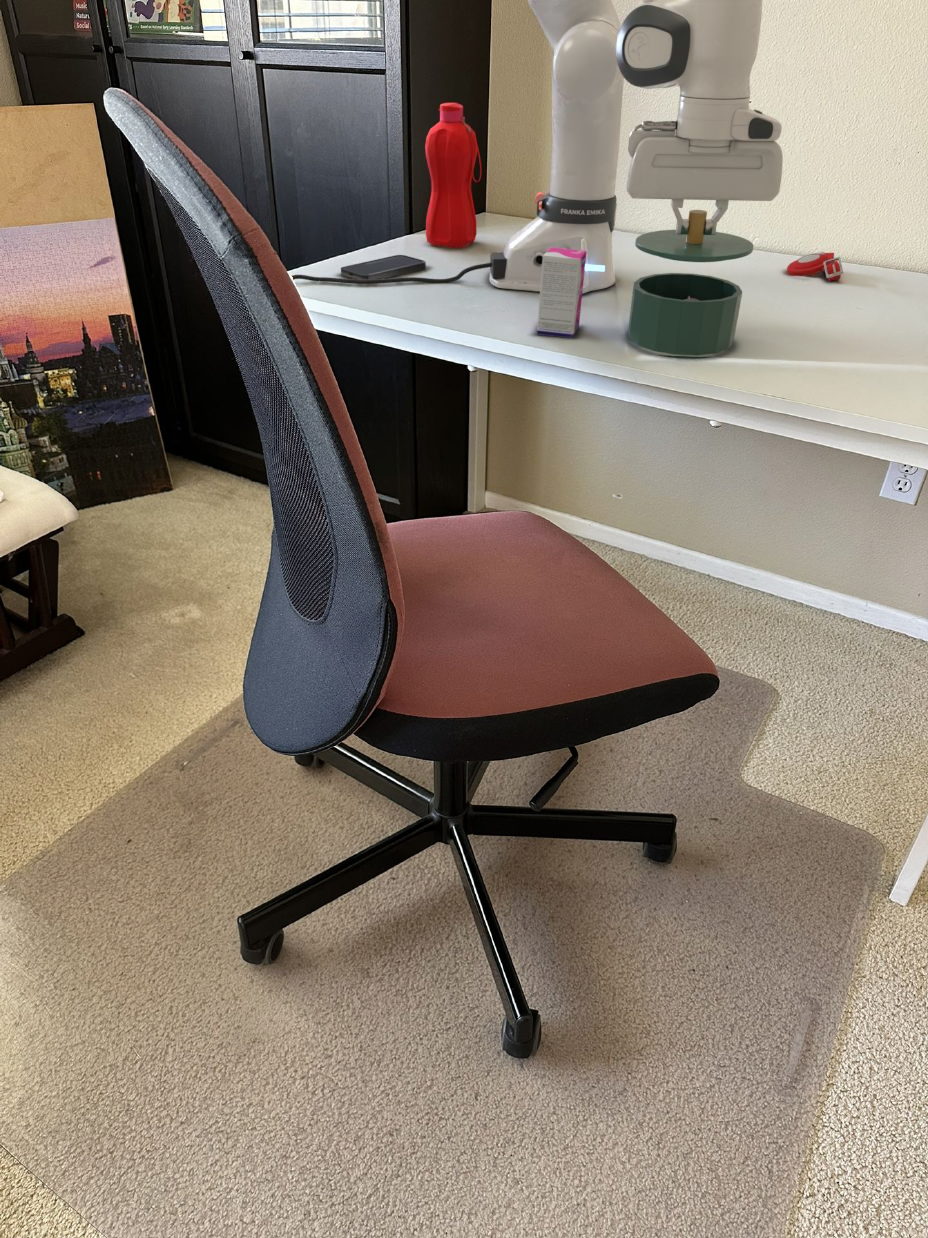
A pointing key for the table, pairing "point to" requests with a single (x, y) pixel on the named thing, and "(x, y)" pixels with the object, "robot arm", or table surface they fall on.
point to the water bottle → (451, 179)
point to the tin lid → (694, 243)
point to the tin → (684, 314)
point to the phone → (383, 267)
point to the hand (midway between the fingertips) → (695, 233)
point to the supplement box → (561, 292)
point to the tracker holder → (817, 266)
